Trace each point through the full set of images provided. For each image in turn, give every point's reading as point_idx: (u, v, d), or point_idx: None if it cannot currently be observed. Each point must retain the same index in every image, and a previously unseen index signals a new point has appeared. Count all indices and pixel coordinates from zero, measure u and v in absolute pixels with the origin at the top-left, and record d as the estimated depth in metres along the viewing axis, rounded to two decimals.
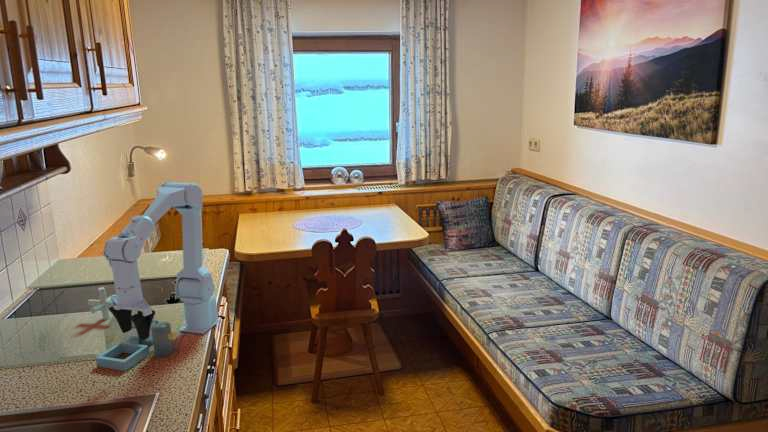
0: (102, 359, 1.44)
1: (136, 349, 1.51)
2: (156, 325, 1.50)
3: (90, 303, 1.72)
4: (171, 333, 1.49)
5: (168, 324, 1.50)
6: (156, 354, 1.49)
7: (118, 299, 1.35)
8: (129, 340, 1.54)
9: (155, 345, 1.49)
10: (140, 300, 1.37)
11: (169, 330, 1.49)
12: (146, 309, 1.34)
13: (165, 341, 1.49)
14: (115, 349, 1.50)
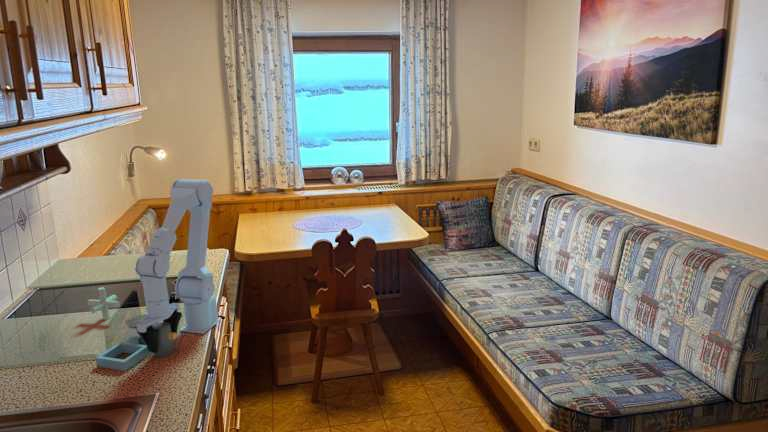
0: (102, 359, 1.44)
1: (136, 349, 1.51)
2: (156, 325, 1.50)
3: (90, 303, 1.72)
4: (171, 333, 1.49)
5: (168, 324, 1.50)
6: (156, 354, 1.49)
7: None
8: (129, 340, 1.54)
9: None
10: (156, 316, 1.46)
11: (169, 330, 1.49)
12: (138, 326, 1.42)
13: (165, 341, 1.49)
14: (115, 349, 1.50)
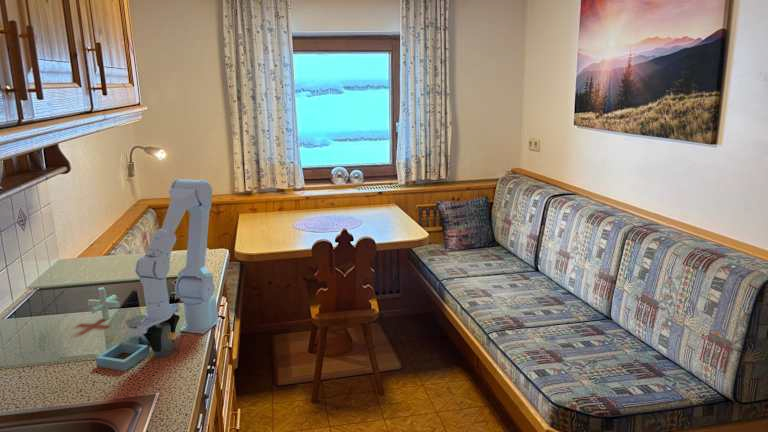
0: (102, 359, 1.44)
1: (136, 349, 1.51)
2: (156, 325, 1.50)
3: (90, 303, 1.72)
4: (171, 333, 1.49)
5: (168, 324, 1.50)
6: (156, 354, 1.49)
7: None
8: (129, 340, 1.54)
9: None
10: (156, 318, 1.46)
11: (169, 330, 1.49)
12: (139, 327, 1.42)
13: (165, 341, 1.49)
14: (115, 349, 1.50)
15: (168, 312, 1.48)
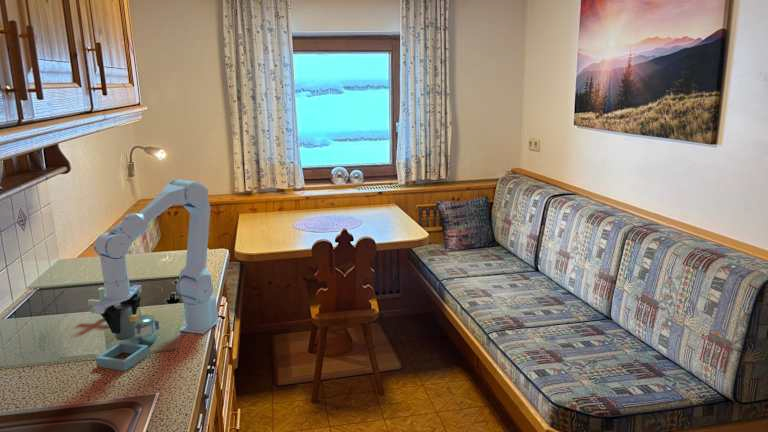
0: (102, 359, 1.44)
1: (136, 349, 1.51)
2: (117, 307, 1.45)
3: (90, 303, 1.72)
4: (133, 315, 1.44)
5: (130, 306, 1.46)
6: (117, 337, 1.44)
7: None
8: (129, 340, 1.54)
9: None
10: (115, 298, 1.41)
11: (131, 312, 1.45)
12: (96, 307, 1.37)
13: (126, 323, 1.44)
14: (115, 349, 1.50)
15: (128, 292, 1.43)
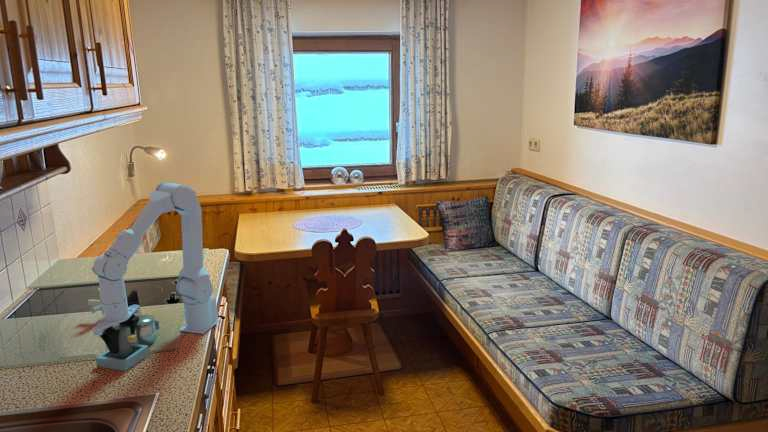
0: (102, 359, 1.44)
1: (136, 349, 1.51)
2: (115, 327, 1.46)
3: (90, 303, 1.72)
4: (131, 335, 1.46)
5: (128, 326, 1.47)
6: (115, 357, 1.46)
7: None
8: None
9: None
10: (113, 319, 1.42)
11: (129, 332, 1.46)
12: (94, 329, 1.38)
13: (124, 343, 1.45)
14: None
15: (126, 313, 1.44)
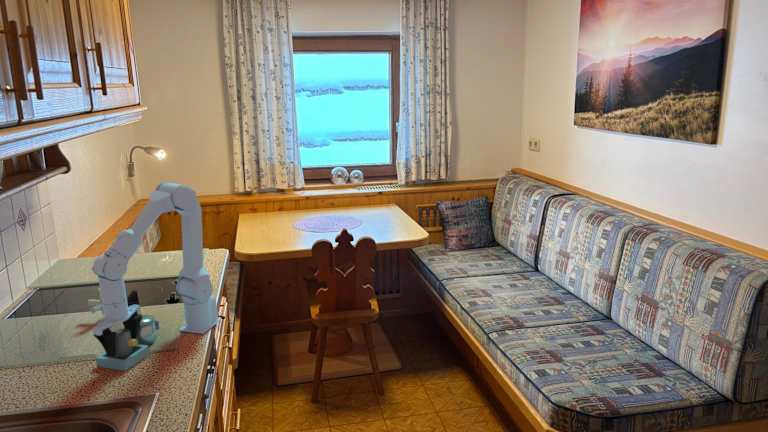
0: (102, 359, 1.44)
1: (136, 349, 1.51)
2: None
3: (90, 303, 1.72)
4: (131, 340, 1.46)
5: (128, 330, 1.47)
6: None
7: None
8: None
9: None
10: (113, 319, 1.42)
11: (129, 337, 1.46)
12: (94, 329, 1.38)
13: (125, 348, 1.45)
14: None
15: (126, 313, 1.44)
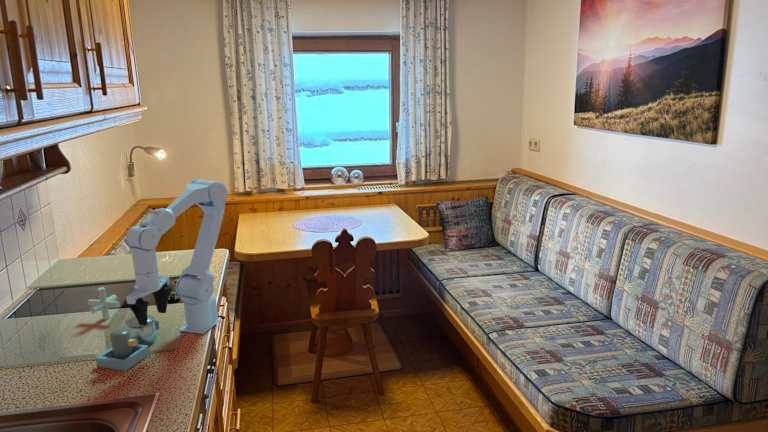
0: (102, 359, 1.44)
1: (136, 349, 1.51)
2: (115, 332, 1.46)
3: (90, 303, 1.72)
4: (131, 340, 1.46)
5: (128, 330, 1.47)
6: None
7: None
8: None
9: (115, 352, 1.45)
10: (145, 289, 1.46)
11: (129, 337, 1.46)
12: (128, 298, 1.42)
13: (125, 348, 1.45)
14: None
15: (157, 283, 1.48)
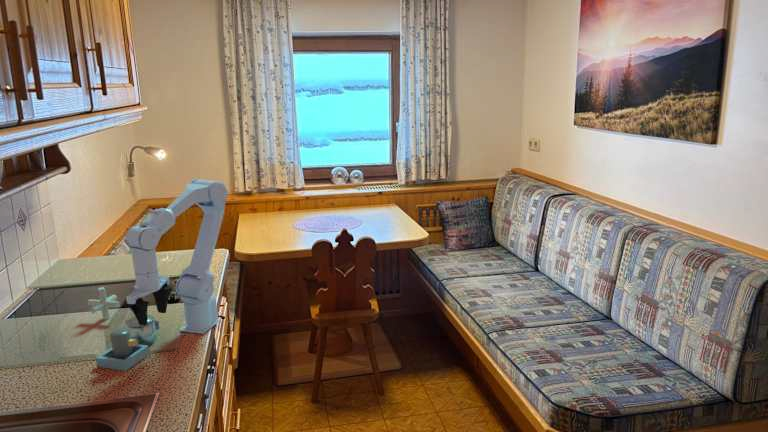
0: (102, 359, 1.44)
1: (136, 349, 1.51)
2: (115, 332, 1.46)
3: (90, 303, 1.72)
4: (131, 340, 1.46)
5: (128, 330, 1.47)
6: None
7: None
8: None
9: (115, 352, 1.45)
10: (145, 289, 1.46)
11: (129, 337, 1.46)
12: (128, 298, 1.42)
13: (125, 348, 1.45)
14: None
15: (157, 283, 1.48)
